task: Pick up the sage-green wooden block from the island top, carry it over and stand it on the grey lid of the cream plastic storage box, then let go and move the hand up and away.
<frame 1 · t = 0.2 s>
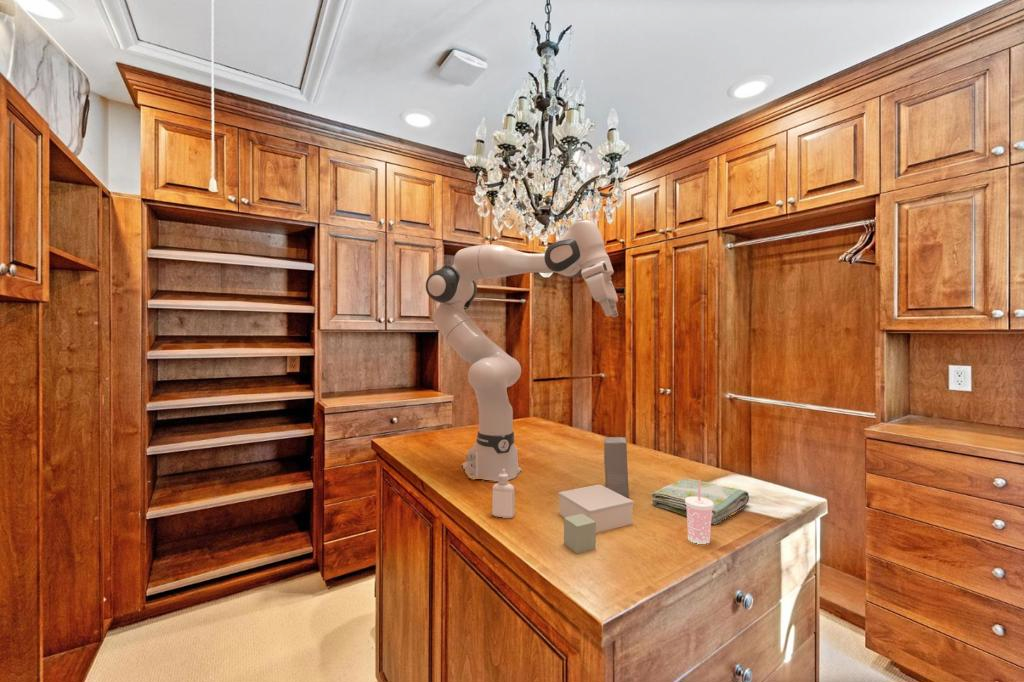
hand: (612, 316, 131), 52 cm above the table, tool tilted 20°, fingers open, 8 cm apart
towel: (699, 507, 123), on the table
skincare box: (615, 493, 132), on the table
eye dropper bottle: (503, 516, 115), on the table
beverage cup: (698, 541, 102), on the table
storage box: (594, 520, 114), on the table
green block: (579, 546, 99), on the table
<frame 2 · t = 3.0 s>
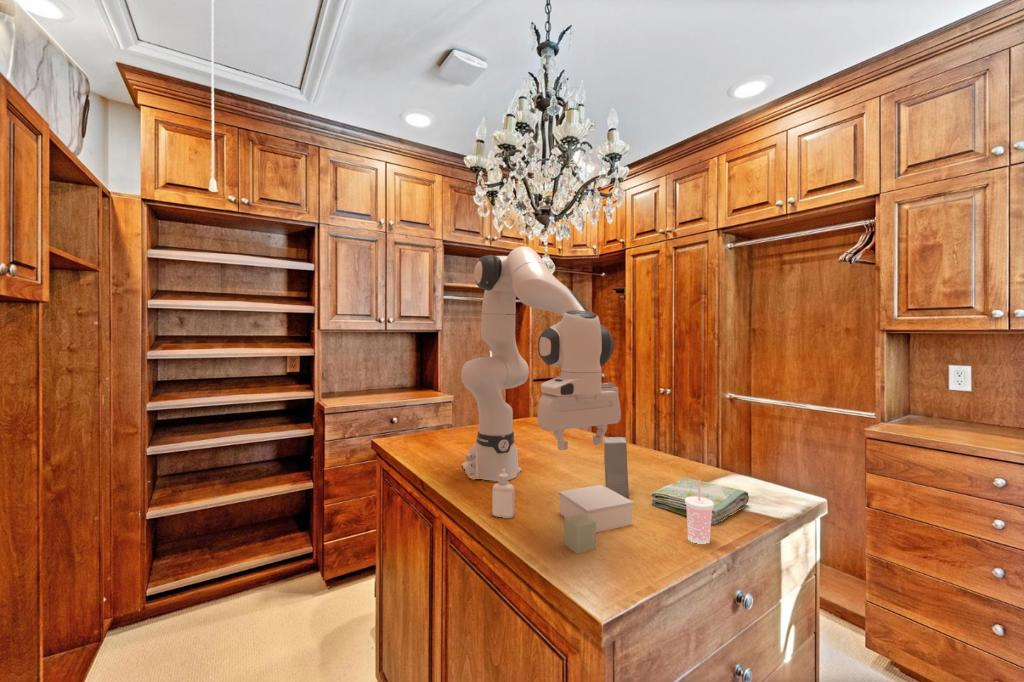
hand: (580, 446, 99), 22 cm above the table, tool pointing down, fingers open, 8 cm apart
nothing on the table moved.
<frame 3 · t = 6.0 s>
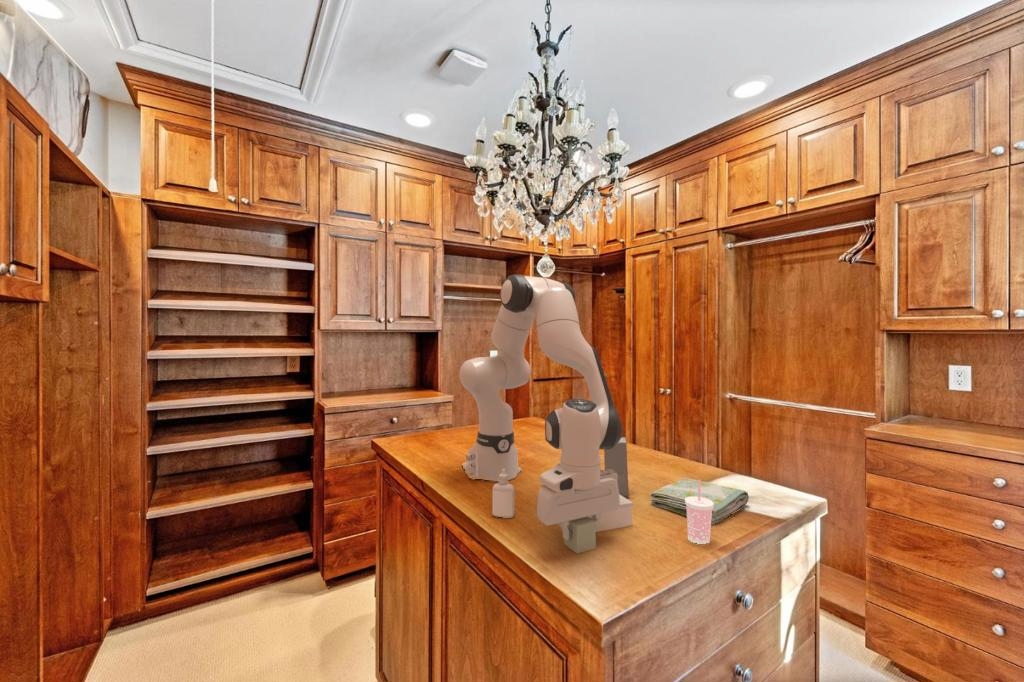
hand: (579, 535, 99), 2 cm above the table, tool pointing down, fingers closed on green block, 5 cm apart
green block: (579, 546, 99), on the table, touching gripper
everything else where it was.
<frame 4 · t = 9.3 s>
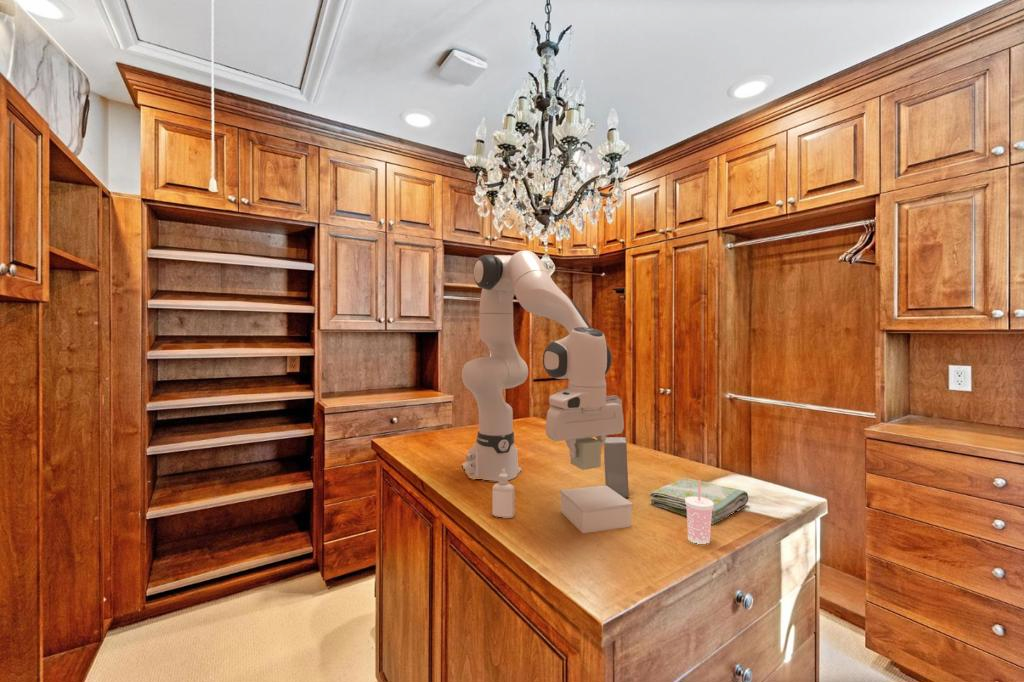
hand: (585, 455, 105), 18 cm above the table, tool pointing down, fingers closed on green block, 5 cm apart
green block: (585, 465, 105), point 16 cm above the table, touching gripper
everything else where it was.
when the fingers open (10 cm above the table, at t = 13.0 s): green block drops 2 cm, resting on storage box.
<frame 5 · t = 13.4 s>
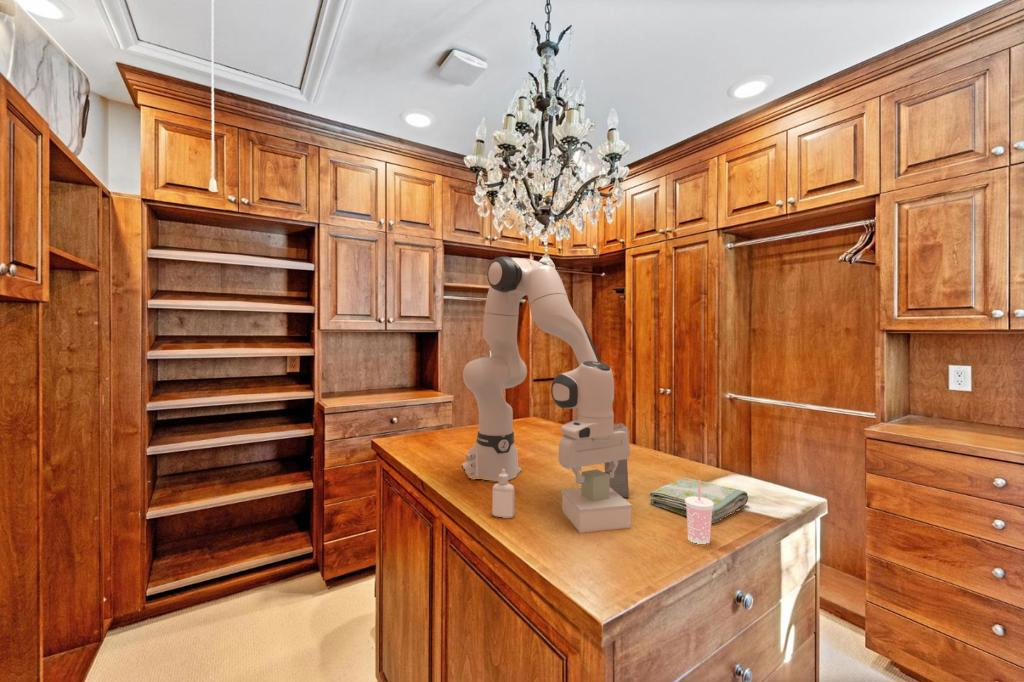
hand: (595, 480, 113), 10 cm above the table, tool pointing down, fingers open, 8 cm apart
storage box: (594, 520, 114), on the table, touching green block
green block: (595, 496, 114), point 6 cm above the table, touching storage box
everything else where it was.
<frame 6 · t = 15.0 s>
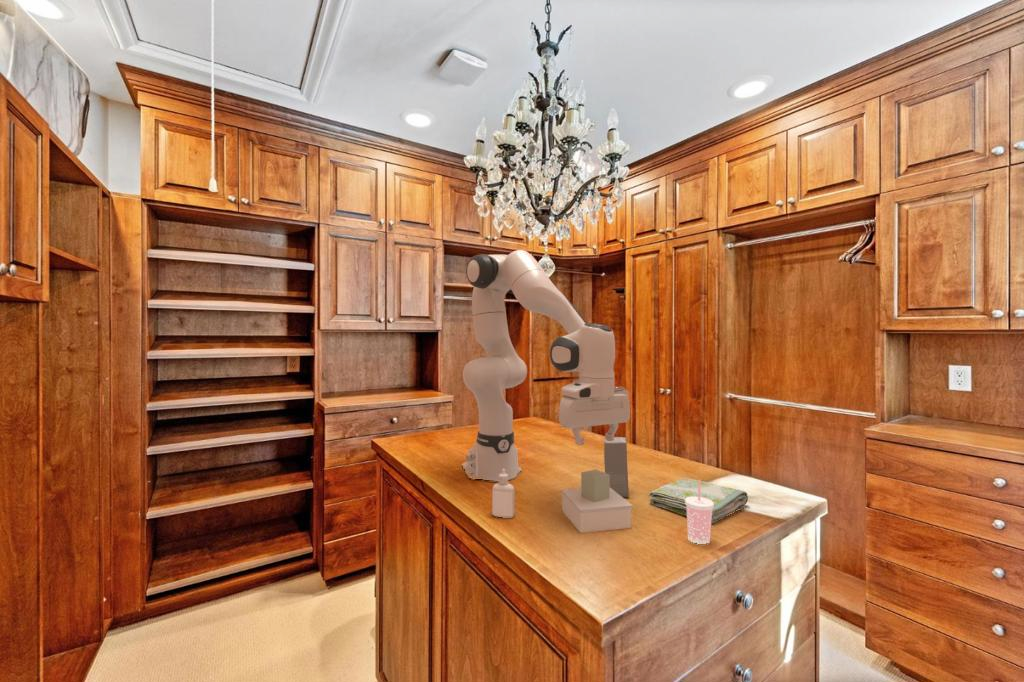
hand: (594, 442, 113), 19 cm above the table, tool pointing down, fingers open, 8 cm apart
nothing on the table moved.
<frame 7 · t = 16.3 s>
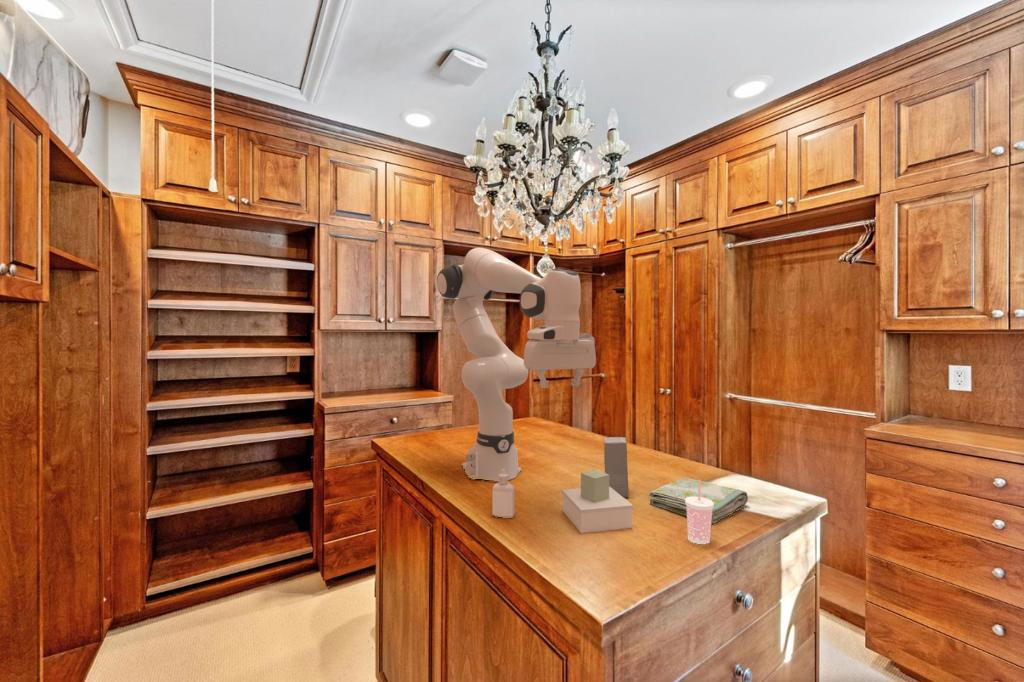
hand: (560, 386, 115), 33 cm above the table, tool pointing down, fingers open, 8 cm apart
nothing on the table moved.
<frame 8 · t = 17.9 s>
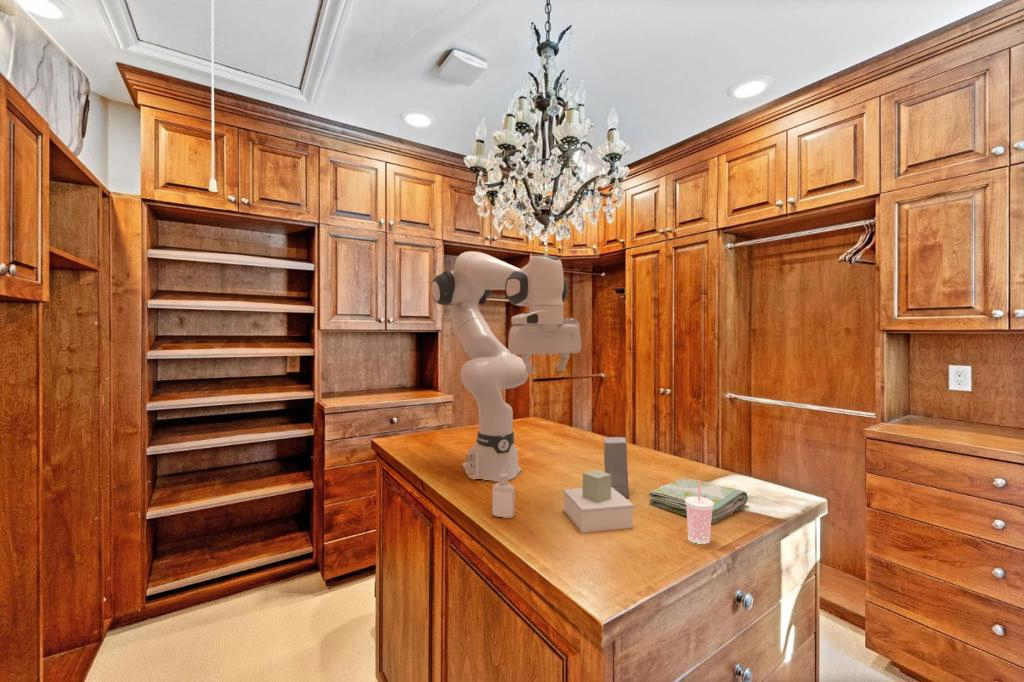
hand: (545, 371, 115), 37 cm above the table, tool pointing down, fingers open, 8 cm apart
nothing on the table moved.
at the end: green block inside the target area on the storage box (0.2 cm from its centre), point 6.0 cm above the storage box's base; green block tilted 0°; the gripper is holding nothing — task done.
